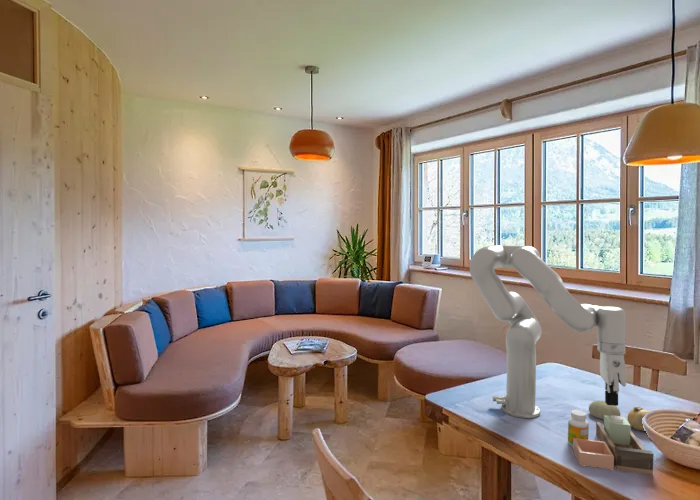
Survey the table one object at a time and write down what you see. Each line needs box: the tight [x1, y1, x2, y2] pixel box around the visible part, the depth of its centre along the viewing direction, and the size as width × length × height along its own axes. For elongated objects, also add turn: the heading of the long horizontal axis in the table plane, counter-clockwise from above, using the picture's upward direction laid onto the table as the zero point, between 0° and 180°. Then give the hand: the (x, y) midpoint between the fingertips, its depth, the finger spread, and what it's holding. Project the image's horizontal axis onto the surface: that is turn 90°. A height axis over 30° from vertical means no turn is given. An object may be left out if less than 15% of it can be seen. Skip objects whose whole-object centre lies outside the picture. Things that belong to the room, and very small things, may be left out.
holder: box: [572, 438, 615, 471], centre depth 120 cm, size 8×8×4 cm
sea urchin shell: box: [588, 400, 621, 421], centre depth 147 cm, size 9×8×8 cm
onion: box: [626, 406, 651, 432], centre depth 137 cm, size 8×8×7 cm
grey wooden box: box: [595, 421, 654, 476], centre depth 123 cm, size 20×8×6 cm, turn 164°
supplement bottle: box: [567, 409, 590, 447], centre depth 128 cm, size 5×5×10 cm
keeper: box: [603, 415, 632, 445], centre depth 128 cm, size 5×5×7 cm
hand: (611, 404), depth 135 cm, fingers closed
